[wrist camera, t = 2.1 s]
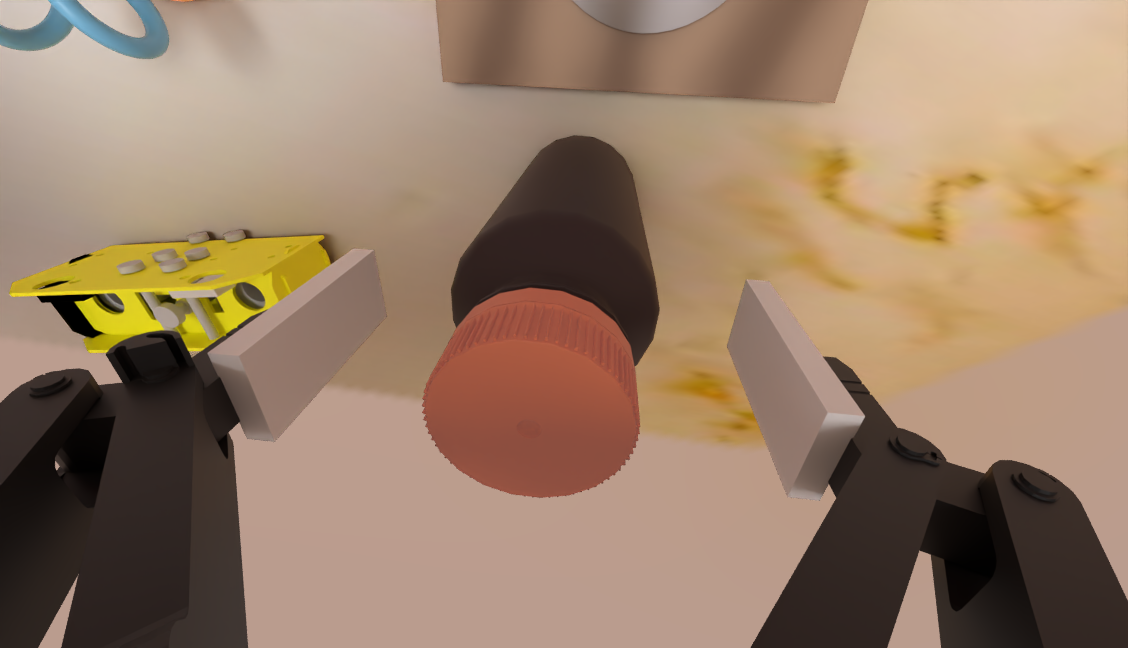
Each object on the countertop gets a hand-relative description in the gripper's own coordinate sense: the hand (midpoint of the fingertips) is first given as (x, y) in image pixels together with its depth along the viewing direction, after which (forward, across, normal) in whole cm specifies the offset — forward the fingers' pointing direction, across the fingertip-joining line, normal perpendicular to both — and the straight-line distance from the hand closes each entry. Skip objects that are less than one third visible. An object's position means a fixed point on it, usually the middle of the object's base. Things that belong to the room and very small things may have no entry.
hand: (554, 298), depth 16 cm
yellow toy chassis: (+13, -24, -7) cm, 29 cm away
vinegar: (+13, 0, 0) cm, 13 cm away
